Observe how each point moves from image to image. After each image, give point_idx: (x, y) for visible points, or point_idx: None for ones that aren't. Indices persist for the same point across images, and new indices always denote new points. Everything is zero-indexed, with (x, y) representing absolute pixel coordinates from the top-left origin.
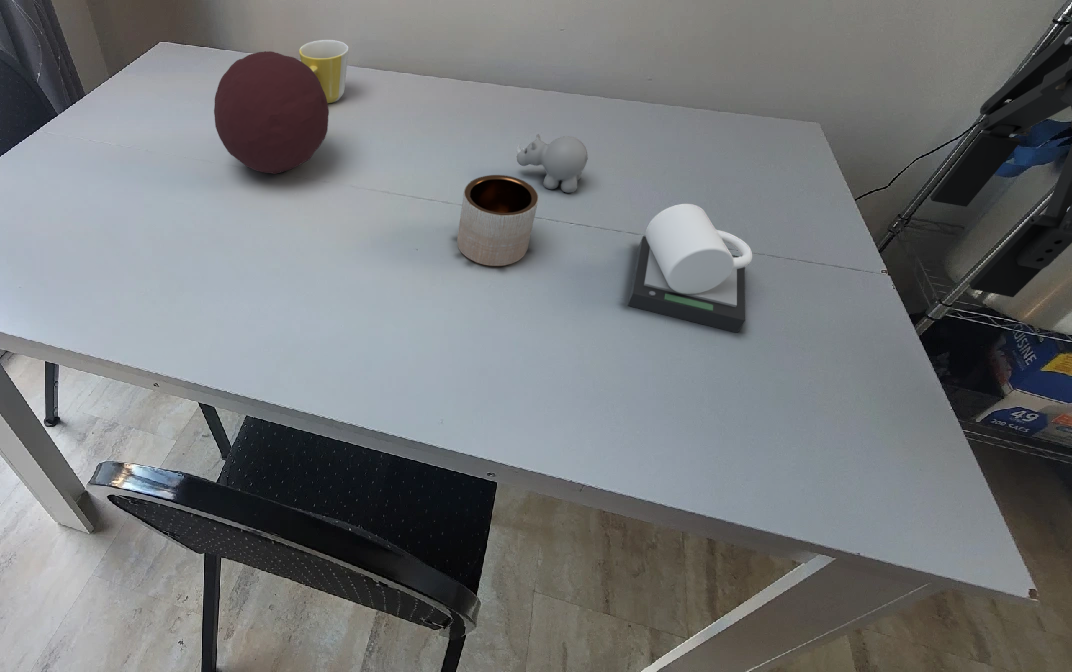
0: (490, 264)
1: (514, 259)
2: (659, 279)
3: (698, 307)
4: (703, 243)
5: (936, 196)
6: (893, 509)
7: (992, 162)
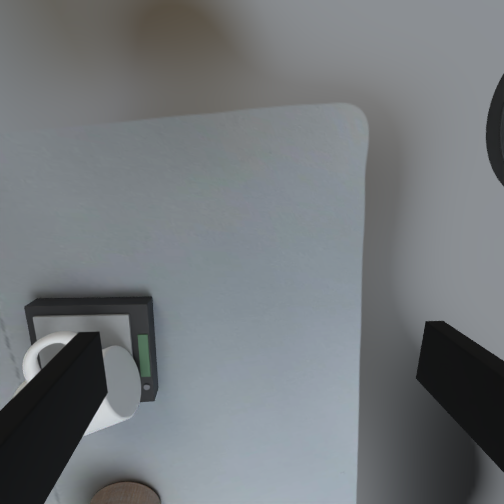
0: (159, 501)
1: (145, 490)
2: None
3: (148, 346)
4: (103, 416)
5: (102, 400)
6: (321, 182)
7: (18, 455)
